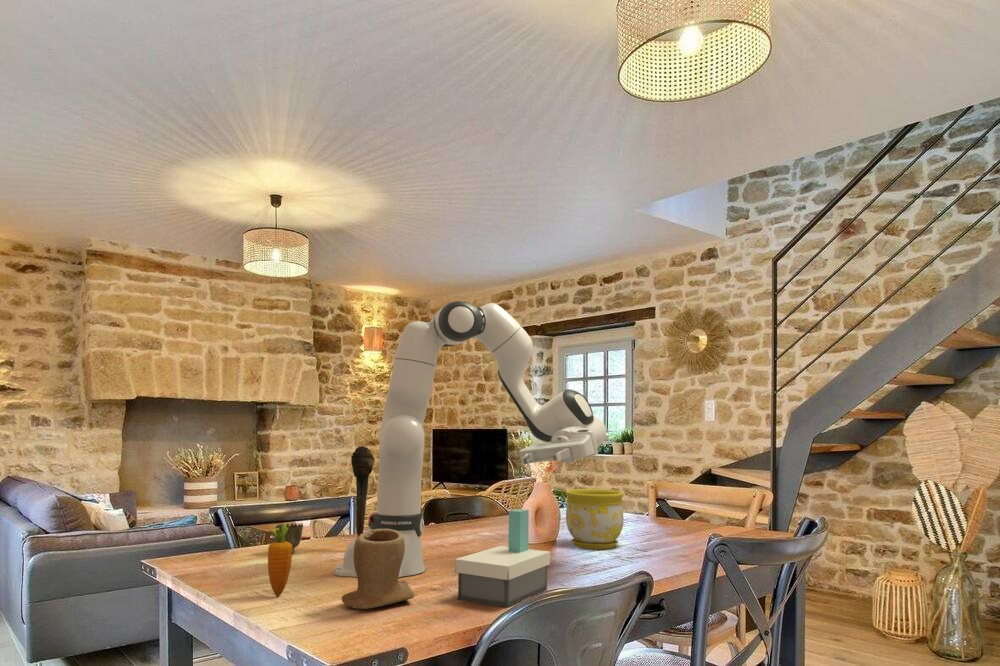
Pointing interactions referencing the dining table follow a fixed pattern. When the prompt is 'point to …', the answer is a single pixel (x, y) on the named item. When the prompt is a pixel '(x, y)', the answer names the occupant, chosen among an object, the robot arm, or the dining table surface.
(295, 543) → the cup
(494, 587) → the tub
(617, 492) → the flowerpot
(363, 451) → the decorative torch
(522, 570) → the lid
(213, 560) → the dining table surface
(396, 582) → the brown boot-shaped piece
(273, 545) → the carrot
